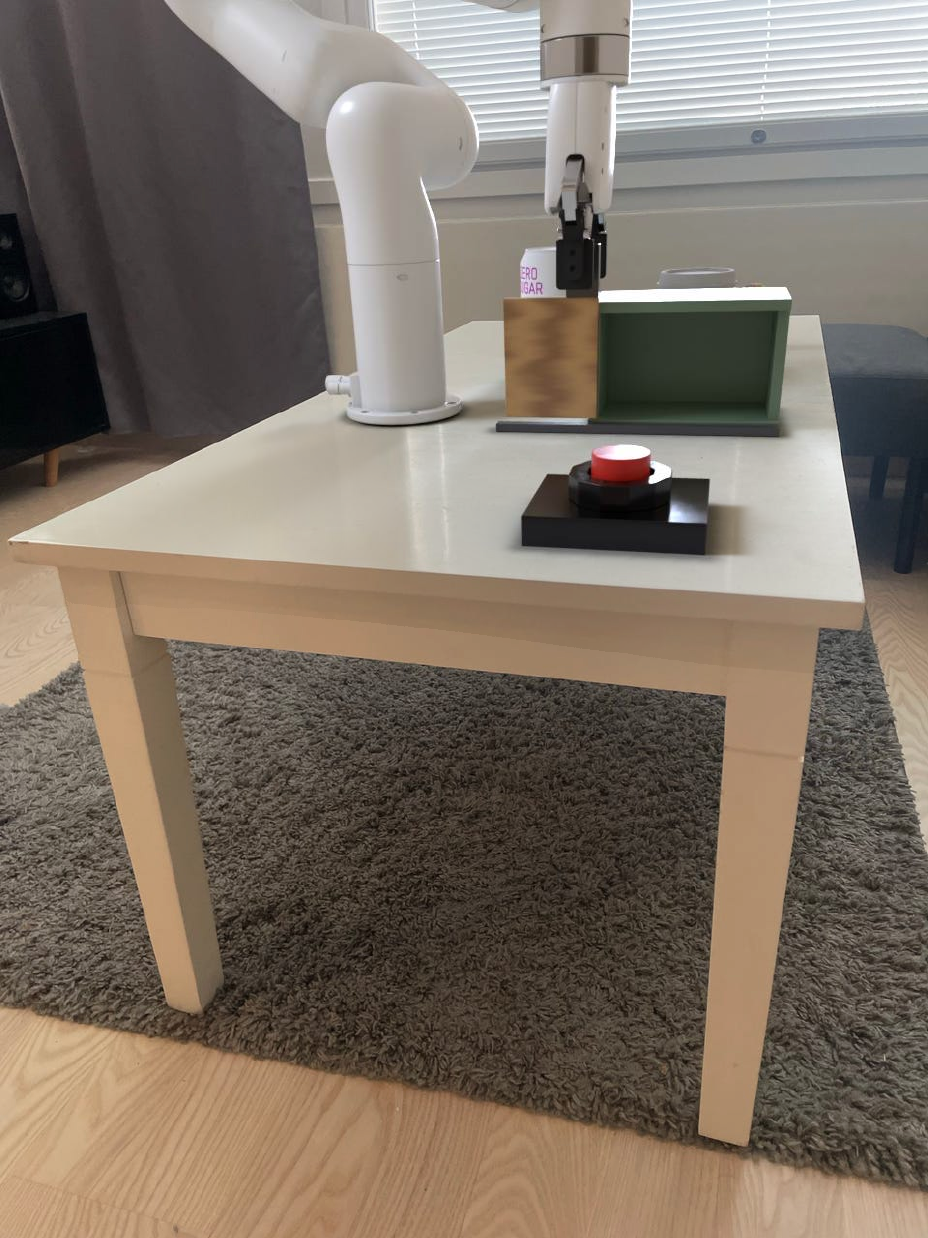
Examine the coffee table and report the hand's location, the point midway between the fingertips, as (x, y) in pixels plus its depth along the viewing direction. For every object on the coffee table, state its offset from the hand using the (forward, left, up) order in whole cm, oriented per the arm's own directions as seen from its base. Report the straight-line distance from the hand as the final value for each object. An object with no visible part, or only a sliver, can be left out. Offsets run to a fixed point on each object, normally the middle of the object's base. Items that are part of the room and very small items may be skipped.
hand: (582, 283), depth 84 cm
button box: (+7, -27, -14) cm, 31 cm away
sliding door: (-3, 0, -12) cm, 13 cm away
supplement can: (-8, +33, -14) cm, 37 cm away
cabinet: (+5, +5, -14) cm, 15 cm away
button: (+7, -27, -10) cm, 30 cm away
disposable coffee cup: (+10, +32, -14) cm, 36 cm away
